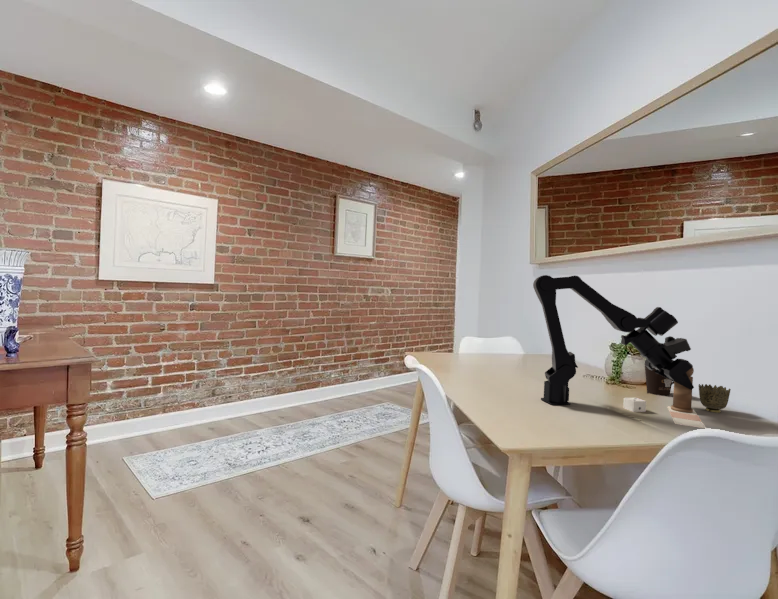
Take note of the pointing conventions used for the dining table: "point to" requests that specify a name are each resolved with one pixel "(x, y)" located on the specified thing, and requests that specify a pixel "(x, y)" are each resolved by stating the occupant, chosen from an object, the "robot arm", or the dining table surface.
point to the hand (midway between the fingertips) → (688, 386)
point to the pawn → (683, 396)
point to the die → (634, 404)
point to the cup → (713, 397)
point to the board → (686, 416)
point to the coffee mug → (657, 383)
